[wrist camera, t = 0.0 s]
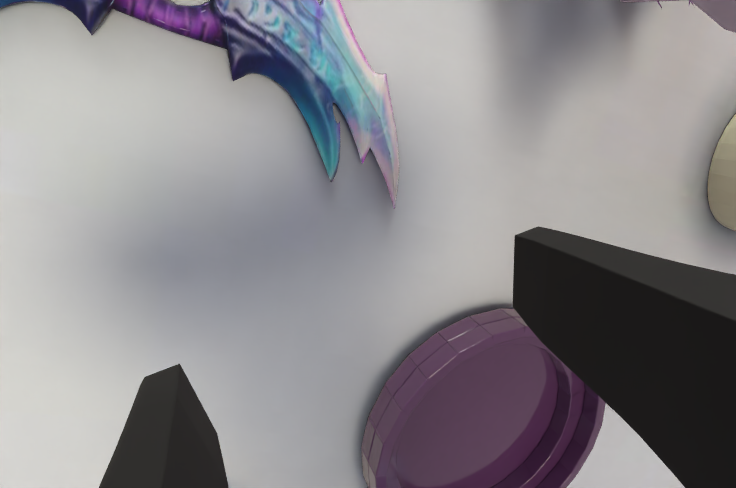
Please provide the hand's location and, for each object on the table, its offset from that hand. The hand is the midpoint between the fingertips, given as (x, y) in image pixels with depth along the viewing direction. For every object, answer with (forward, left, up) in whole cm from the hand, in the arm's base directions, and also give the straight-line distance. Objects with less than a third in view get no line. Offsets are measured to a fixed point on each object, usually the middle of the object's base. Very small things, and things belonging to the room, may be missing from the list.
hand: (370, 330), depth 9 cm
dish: (-7, -15, -11) cm, 20 cm away
